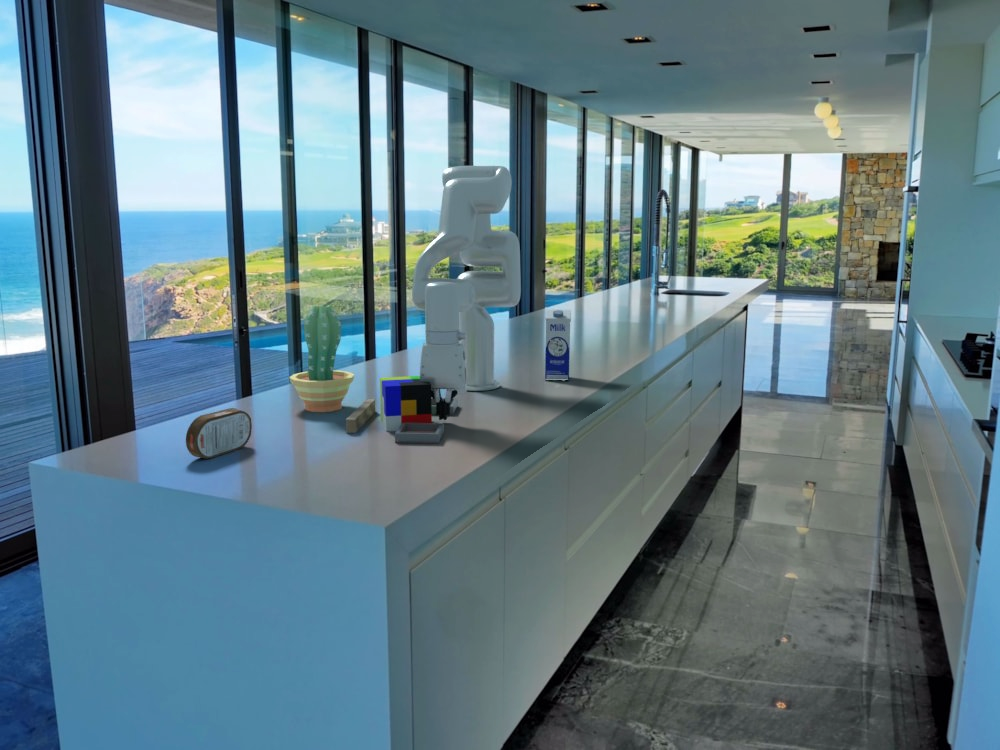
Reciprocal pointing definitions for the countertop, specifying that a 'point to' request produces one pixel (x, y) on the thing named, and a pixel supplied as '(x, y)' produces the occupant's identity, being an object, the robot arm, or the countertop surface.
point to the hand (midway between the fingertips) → (443, 418)
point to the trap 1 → (419, 433)
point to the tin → (218, 433)
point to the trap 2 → (452, 405)
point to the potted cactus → (322, 363)
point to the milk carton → (557, 344)
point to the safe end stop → (360, 416)
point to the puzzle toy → (404, 401)
